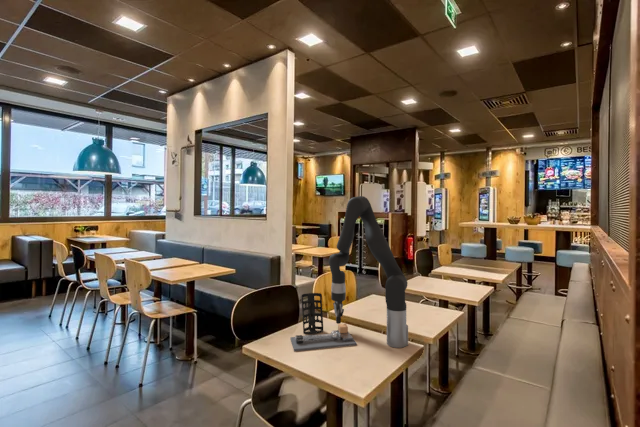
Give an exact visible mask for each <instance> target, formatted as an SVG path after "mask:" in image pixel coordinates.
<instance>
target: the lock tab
mask: <svg viewBox="0 0 640 427" xmlns="http://www.w3.org/2000/svg"><path fill="white" fill-rule="evenodd" d="M337 328H338V329H337V330H338V331H339V332H340V333H348V332H349V326H348V325H347V324H346V323H340V324H337Z"/></svg>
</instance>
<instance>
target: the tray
mask: <svg viewBox="0 0 640 427" xmlns="http://www.w3.org/2000/svg"><path fill="white" fill-rule="evenodd" d="M290 342H291V345H292V348H293V352H301V351H303V352H304V351H313V350H322V349H332V348H343V347H351V346H353V347H354V346H357V345H358V344H357V342H356V340H355V339H354V338H353V341H345V342H343V341H342V340H341V338H340V340H327V341H317V342H306V343H301V344H297V343H296V340H295V336H291V337H290Z"/></svg>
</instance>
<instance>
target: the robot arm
mask: <svg viewBox="0 0 640 427" xmlns="http://www.w3.org/2000/svg"><path fill="white" fill-rule="evenodd" d="M359 218H360V220H361V221H362V224H363V226H364V233H365V234H364V235H365V242H366V244H367V246H368V248H369V250H370V253H371V254H372V256H373V257H374V259H375V260H376V261H377V262H378V263H379V264H380V266H381V267H382V269H383V271H384V273H385V275H386V278H387V279H386V281H385V286H384V288H385V289H384V291H385V295H384V296H385V304H386V344H387V345H388V346H389V347H391V348H397V349H399V348H405V347H407V346H409V325H408V324H407V302H406V289H407V288H408V280H407V279H408V278H406V276H405V274H404V273H403V271H402V269H401V268H400V266H399V265H398V262H397V260H396V258H395V256H394V254H393V252H392V249H391V247H390V245H389V242H388V241H387V239H386V236H385V235H384V232H383V231H382V228H381V226H380V224H379V222H378V221H377V217H376V216H375V213H374V209H373V208H372V205H371V202H370V200H369V199H368V198H367V197H366V196H362V195H359V196H353V197H351V198H350V199H349V200H348V202H347V204H346V210H345V214H344V220H343V224H342V229H341V232H340V235H339V238H338V240H337V244H336V249H337V251H339V252H337V253H333V254H331V255H330V256H329V259H328V266H329V269H330V273H331V287H330V288H331V290H330V291H331V296H330V297H331V298H330V299H331V300H332V301H333V303H332V304H333V310H334V314H335V323H336V324H337V325H338V324H342V323H341V322H342V319H341V318H342V317H343V315H344V311H345V309H344V304H343V302H344V301H345V300H346V298H347V297H346V288H347V287H346V272H345V271H344V270H341V267H344V266H346V265H347V264H348V262H349V259H350V249H351V248H352V244H353V242H354V237H355V227H356V223H357V222H358V219H359Z"/></svg>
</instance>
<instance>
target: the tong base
mask: <svg viewBox="0 0 640 427" xmlns="http://www.w3.org/2000/svg"><path fill="white" fill-rule="evenodd" d="M330 334H333V335H332V337H329V338H312V339H303V340H297V339H296V343H297V344H301V343H306V342H317V341H327V340H340V338H341V340H342V341H343V342H345V341H353V339H354V337H353V336H352V335H351V333H350V332H349V331H348V333H340V332H339V331H338V329H337V330H331V331H330Z"/></svg>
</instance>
